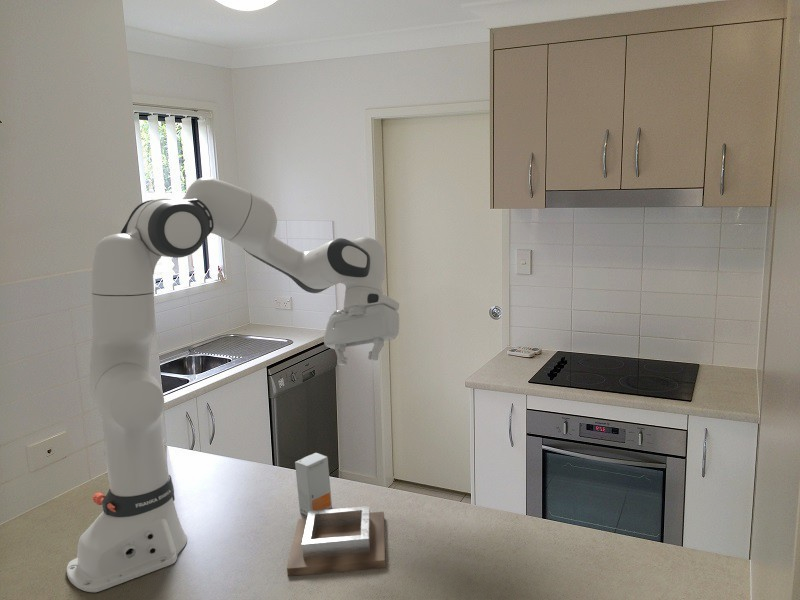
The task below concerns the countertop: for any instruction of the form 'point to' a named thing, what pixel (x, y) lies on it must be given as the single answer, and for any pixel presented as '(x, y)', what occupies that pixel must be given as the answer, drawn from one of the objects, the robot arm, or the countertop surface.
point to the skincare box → (313, 483)
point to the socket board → (338, 541)
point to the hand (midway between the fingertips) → (357, 362)
